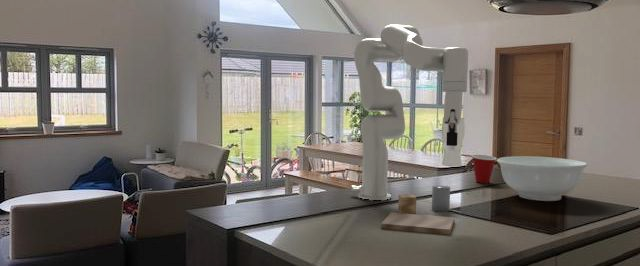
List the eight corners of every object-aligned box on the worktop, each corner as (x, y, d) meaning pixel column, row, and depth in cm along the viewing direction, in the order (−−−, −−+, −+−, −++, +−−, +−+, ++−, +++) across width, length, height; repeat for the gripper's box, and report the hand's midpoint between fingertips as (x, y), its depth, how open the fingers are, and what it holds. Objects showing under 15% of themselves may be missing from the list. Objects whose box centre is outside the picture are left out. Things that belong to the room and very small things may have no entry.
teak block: (400, 215, 185) (401, 197, 185) (398, 211, 190) (398, 194, 190) (415, 215, 186) (416, 197, 185) (412, 212, 190) (413, 194, 190)
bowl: (498, 187, 240) (500, 153, 239) (582, 193, 228) (584, 158, 227) (492, 201, 210) (494, 162, 209) (588, 209, 198) (590, 168, 197)
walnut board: (381, 228, 167) (381, 223, 167) (391, 216, 182) (391, 212, 182) (449, 234, 161) (449, 229, 161) (454, 222, 176) (454, 217, 176)
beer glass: (464, 167, 173) (465, 118, 172) (440, 166, 174) (442, 118, 173) (462, 164, 180) (464, 117, 179) (440, 163, 181) (441, 116, 180)
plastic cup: (488, 185, 245) (489, 158, 244) (466, 182, 252) (467, 155, 251) (500, 182, 252) (501, 156, 251) (477, 179, 260) (478, 153, 259)
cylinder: (430, 210, 192) (431, 187, 192) (432, 207, 198) (433, 184, 197) (448, 212, 191) (449, 189, 190) (450, 208, 196) (450, 186, 196)
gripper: (444, 87, 184) (442, 141, 186) (440, 87, 168) (438, 146, 169) (467, 87, 182) (465, 142, 184) (466, 87, 166) (463, 147, 167)
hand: (452, 143), depth 177 cm, fingers closed on beer glass, 6 cm apart
